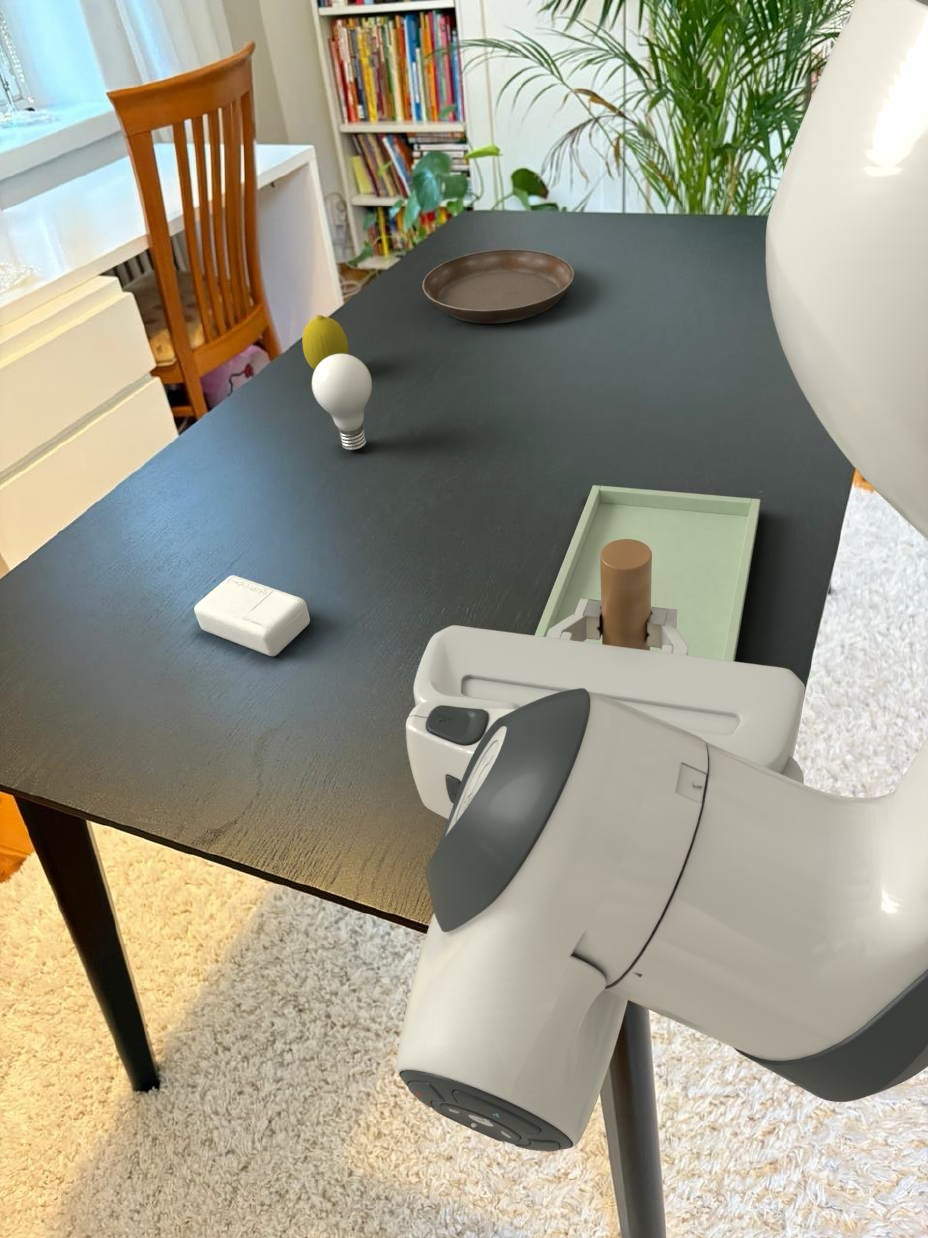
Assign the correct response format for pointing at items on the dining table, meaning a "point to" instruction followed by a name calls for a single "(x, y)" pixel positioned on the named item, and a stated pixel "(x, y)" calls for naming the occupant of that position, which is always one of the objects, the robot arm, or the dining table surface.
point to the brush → (625, 593)
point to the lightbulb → (344, 395)
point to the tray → (668, 560)
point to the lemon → (323, 340)
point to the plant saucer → (498, 285)
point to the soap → (252, 615)
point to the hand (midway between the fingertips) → (628, 611)
